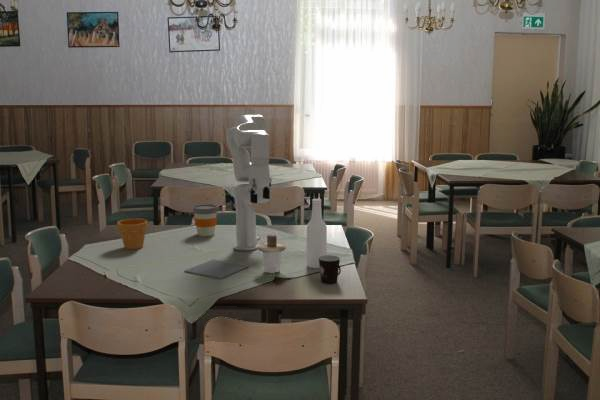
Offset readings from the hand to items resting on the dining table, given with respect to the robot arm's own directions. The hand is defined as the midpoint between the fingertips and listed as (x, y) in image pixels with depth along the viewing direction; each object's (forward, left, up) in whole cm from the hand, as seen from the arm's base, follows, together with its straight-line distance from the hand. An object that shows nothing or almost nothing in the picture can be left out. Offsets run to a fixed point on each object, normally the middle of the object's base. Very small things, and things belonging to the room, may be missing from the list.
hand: (260, 200), depth 270 cm
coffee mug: (+5, +37, -30) cm, 48 cm away
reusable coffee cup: (-35, -59, -30) cm, 75 cm away
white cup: (+3, +8, -30) cm, 31 cm away
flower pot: (+4, -73, -30) cm, 79 cm away
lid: (+3, +8, -20) cm, 21 cm away
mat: (+13, -14, -30) cm, 35 cm away
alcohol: (-13, +21, -30) cm, 38 cm away
